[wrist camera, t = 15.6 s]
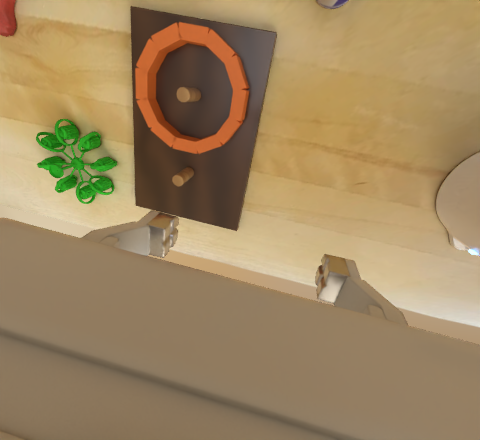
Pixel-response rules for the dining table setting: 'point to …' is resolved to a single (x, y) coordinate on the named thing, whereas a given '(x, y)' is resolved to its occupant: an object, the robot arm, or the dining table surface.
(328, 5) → the energy drink
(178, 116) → the ring toss board
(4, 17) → the stacking bear
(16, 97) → the dining table surface
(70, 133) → the chandelier
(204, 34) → the ring
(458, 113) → the dining table surface
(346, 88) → the dining table surface
